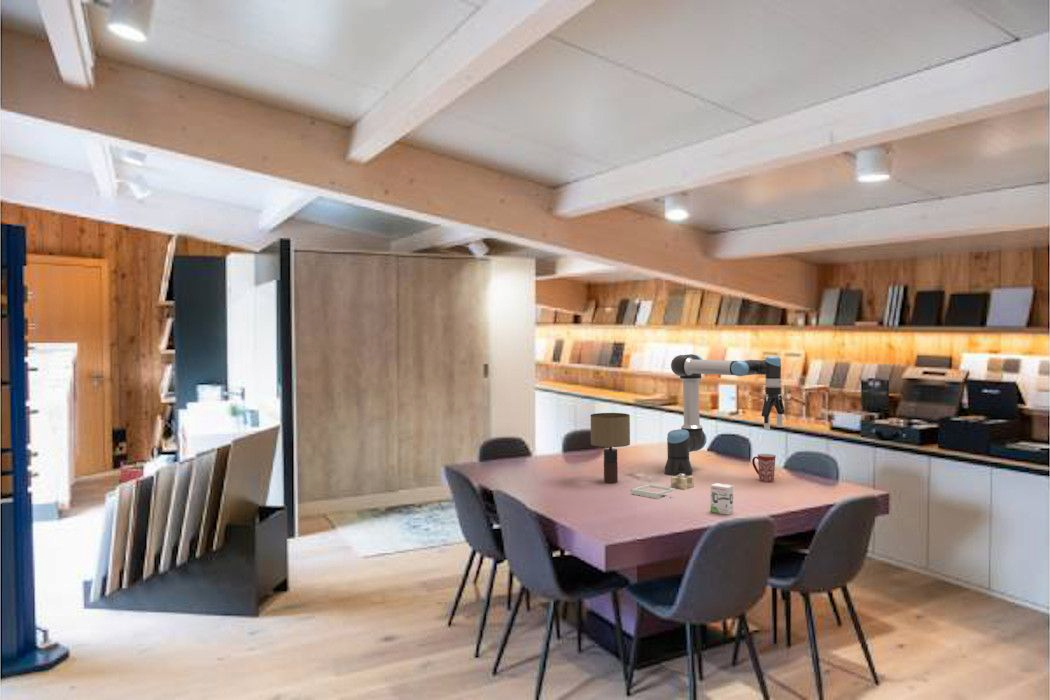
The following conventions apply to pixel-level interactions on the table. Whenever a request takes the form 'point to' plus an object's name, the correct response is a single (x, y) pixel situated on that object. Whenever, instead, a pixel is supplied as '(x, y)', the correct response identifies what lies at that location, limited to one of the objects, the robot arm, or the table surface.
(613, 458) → the lamp
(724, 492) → the ink box
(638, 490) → the tray
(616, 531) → the table surface
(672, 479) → the tan wooden frame
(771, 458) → the mug
